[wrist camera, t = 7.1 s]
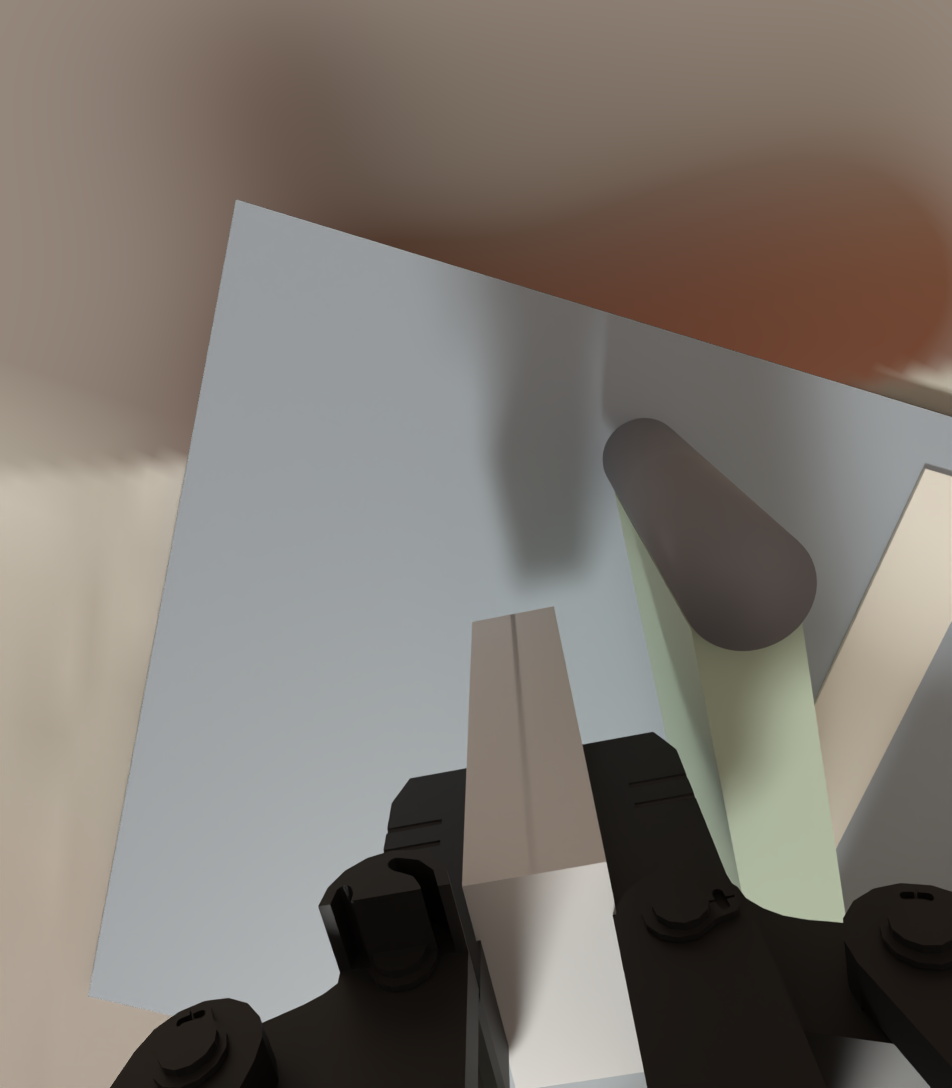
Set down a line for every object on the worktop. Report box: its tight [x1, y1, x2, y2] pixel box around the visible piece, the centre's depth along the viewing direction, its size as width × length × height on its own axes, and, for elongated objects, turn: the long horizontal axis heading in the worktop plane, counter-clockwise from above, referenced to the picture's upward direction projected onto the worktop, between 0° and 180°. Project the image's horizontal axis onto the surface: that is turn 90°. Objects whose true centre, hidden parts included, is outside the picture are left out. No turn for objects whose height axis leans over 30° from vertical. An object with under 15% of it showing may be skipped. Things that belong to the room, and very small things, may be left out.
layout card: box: [88, 199, 952, 1088], centre depth 18 cm, size 28×18×1 cm, turn 74°
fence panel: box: [603, 418, 845, 923], centre depth 13 cm, size 11×1×6 cm, turn 14°
